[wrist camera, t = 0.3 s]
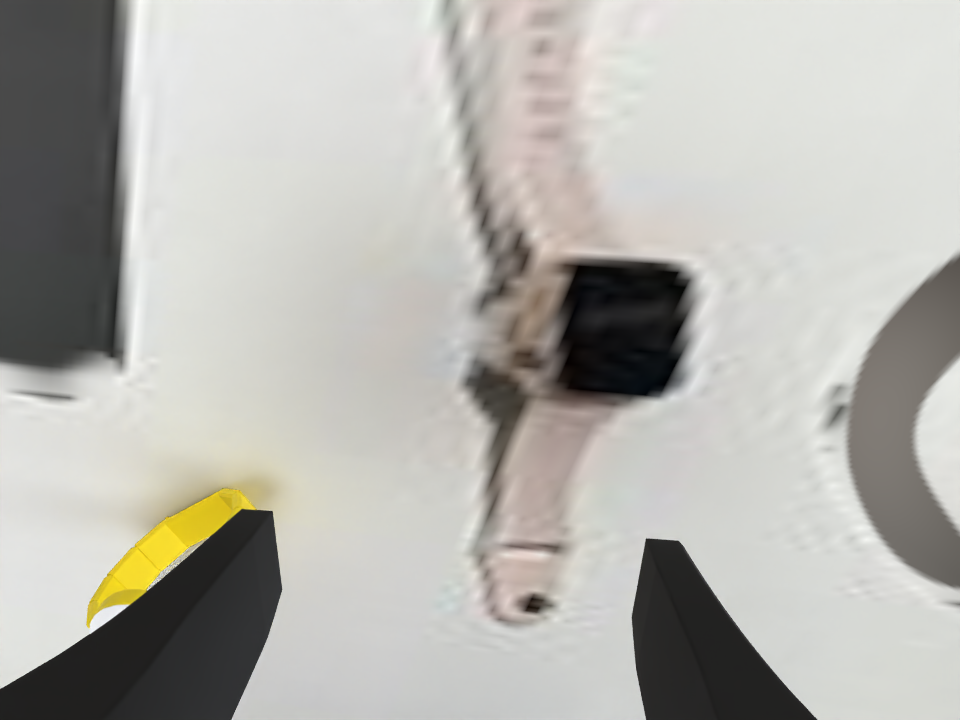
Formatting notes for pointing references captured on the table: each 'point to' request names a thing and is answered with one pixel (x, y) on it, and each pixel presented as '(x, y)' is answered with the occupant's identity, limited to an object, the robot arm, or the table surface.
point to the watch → (161, 553)
